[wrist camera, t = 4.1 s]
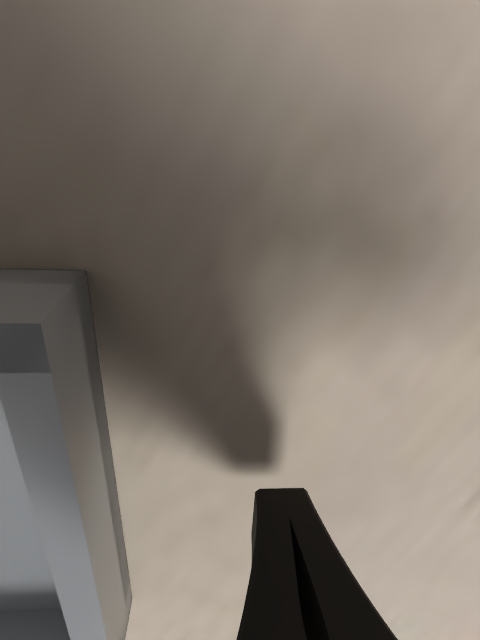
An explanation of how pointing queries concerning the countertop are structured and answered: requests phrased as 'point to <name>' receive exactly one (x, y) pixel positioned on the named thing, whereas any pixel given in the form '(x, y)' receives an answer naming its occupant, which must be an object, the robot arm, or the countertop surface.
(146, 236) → the countertop surface
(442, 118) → the countertop surface
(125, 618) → the tray
